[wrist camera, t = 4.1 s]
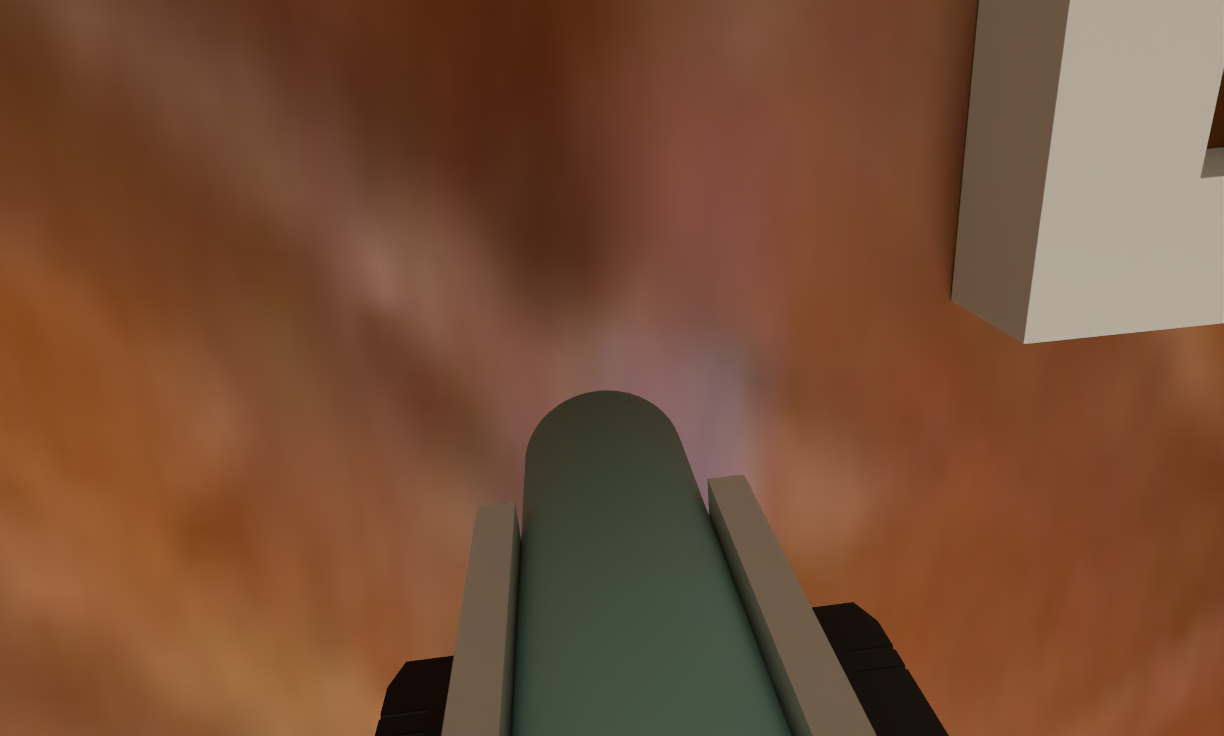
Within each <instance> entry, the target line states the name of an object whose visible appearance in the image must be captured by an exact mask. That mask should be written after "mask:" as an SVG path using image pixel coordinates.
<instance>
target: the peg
mask: <svg viewBox="0 0 1224 736" xmlns="http://www.w3.org/2000/svg"><path fill="white" fill-rule="evenodd" d="M511 736H792V734H791V731H790V728H789V726H788V723H787V720H786V718H785V715H784V713H783V710H782V707H781V705H780V702H779V699H778V697H777V694H776V691H775V689H774V686H773V683H772V681H771V678H770V676H769V673H768V670H767V668H766V665H765V662H764V660H763V657H762V654H761V652H760V649H759V647H758V644H757V641H756V639H755V636H754V633H753V631H752V628H751V625H750V623H749V620H748V617H747V615H746V612H745V610H744V607H743V604H742V602H741V599H740V596H739V594H738V591H737V588H736V586H735V583H734V581H733V578H732V575H731V573H730V570H729V567H728V565H727V562H726V559H725V557H724V554H723V551H722V549H721V546H720V544H719V541H718V538H717V536H716V533H715V530H714V528H713V525H712V522H711V520H710V517H709V514H708V512H707V509H706V507H705V504H704V501H703V499H702V496H701V493H700V491H699V488H698V485H697V483H696V480H695V478H694V475H693V472H692V470H691V467H690V464H689V462H688V459H687V456H686V454H685V451H684V448H683V446H682V443H681V441H680V438H679V435H678V433H677V431H676V429H675V427H674V425H673V424H672V422H671V421H670V419H669V418H668V417H667V416H666V415H665V414H664V413H663V412H662V411H661V410H660V409H659V408H658V407H656V406H655V405H653V404H652V403H650V402H649V401H647V400H645V399H643V398H641V397H639V396H636V395H633V394H630V393H625V392H620V391H595V392H589V393H585V394H581V395H578V396H575V397H573V398H571V399H568V400H566V401H565V402H563V403H561V404H560V405H558V406H557V407H555V408H554V409H553V410H551V411H550V412H549V413H548V414H547V415H546V416H545V417H544V418H543V419H542V420H541V422H540V423H539V424H538V426H537V427H536V429H535V430H534V432H533V434H532V436H531V438H530V441H529V444H528V447H527V452H526V460H525V477H524V496H523V515H522V534H521V556H520V575H519V594H518V614H517V633H516V652H515V671H514V691H513V710H512V729H511Z"/></svg>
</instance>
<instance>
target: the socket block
mask: <svg viewBox="0 0 1224 736" xmlns="http://www.w3.org/2000/svg"><path fill="white" fill-rule="evenodd" d="M1223 69H1224V0H979V5H978V16H977V27H976V38H975V48H974V59H973V70H972V81H971V91H970V102H969V113H968V124H967V134H966V145H965V156H964V167H963V177H962V188H961V199H960V210H959V220H958V231H957V242H956V253H955V263H954V274H953V285H952V296H951V301H952V302H954V303H956V304H957V305H959V306H961V307H962V308H964V309H966V310H967V311H969V312H971V313H972V314H974V315H976V316H978V317H979V318H981V319H983V320H984V321H986V322H988V323H989V324H991V325H993V326H994V327H996V328H998V329H999V330H1001V331H1003V332H1004V333H1006V334H1008V335H1009V336H1011V337H1013V338H1014V339H1016V340H1018V341H1019V342H1021V343H1023V344H1028V343H1037V342H1047V341H1057V340H1066V339H1076V338H1085V337H1095V336H1104V335H1114V334H1124V333H1133V332H1143V331H1152V330H1162V329H1171V328H1181V327H1190V326H1200V325H1210V324H1219V323H1224V147H1221V148H1211V149H1207V144H1208V140H1209V135H1210V130H1211V125H1212V121H1213V116H1214V111H1215V107H1216V102H1217V97H1218V93H1219V88H1220V83H1221V78H1222V74H1223Z"/></svg>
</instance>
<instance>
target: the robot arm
mask: <svg viewBox="0 0 1224 736" xmlns="http://www.w3.org/2000/svg"><path fill="white" fill-rule="evenodd" d="M708 499H709V517H710V520H711V522H712V525H713V528H714V530H715V533H716V536H717V538H718V541H719V544H720V546H721V549H722V551H723V554H724V557H725V559H726V562H727V565H728V567H729V570H730V573H731V575H732V578H733V581H734V583H735V586H736V588H737V591H738V594H739V596H740V599H741V602H742V604H743V607H744V610H745V612H746V615H747V617H748V620H749V623H750V625H751V628H752V631H753V633H754V636H755V639H756V641H757V644H758V647H759V649H760V652H761V654H762V657H763V660H764V662H765V665H766V668H767V670H768V673H769V676H770V678H771V681H772V683H773V686H774V689H775V691H776V694H777V697H778V699H779V702H780V705H781V707H782V710H783V713H784V715H785V718H786V720H787V723H788V726H789V728H790V731H791V734H792V736H949V735H948V734H947V732H946V731H945V729H944V727H943V726H942V724H941V722H940V721H939V719H938V718H937V716H936V714H935V713H934V711H933V709H932V708H931V706H930V705H929V703H928V701H927V700H926V698H925V697H924V695H923V693H922V692H921V690H920V688H919V687H918V685H917V684H916V682H915V680H914V679H913V677H912V676H911V674H910V672H909V671H908V670H906V669H905V664H904V663H903V661H902V659H901V658H900V656H899V655H898V653H897V651H896V650H894V649H893V645H892V643H891V642H890V640H889V638H888V637H887V635H886V633H885V632H884V630H883V629H882V627H881V625H880V624H879V622H878V621H877V620H876V619H874V618H873V617H872V616H870V615H869V614H868V613H867V612H865V611H864V610H863V609H861V608H860V607H859V606H858V605H856V604H855V603H854V602H851V603H844V604H836V605H828V606H820V607H813V608H811V606H810V604H809V602H808V600H807V598H806V596H805V594H804V592H803V590H802V588H801V586H800V584H799V582H798V580H797V578H796V576H795V574H794V572H793V570H792V568H791V566H790V564H789V562H788V560H787V558H786V556H785V554H784V552H783V550H782V548H781V547H780V545H779V543H778V541H777V539H776V537H775V535H774V533H773V531H772V529H771V527H770V525H769V523H768V521H767V519H766V517H765V515H764V513H763V511H762V509H761V507H760V505H759V503H758V501H757V499H756V497H755V495H754V493H753V491H752V489H751V487H750V485H749V484H748V482H747V480H746V478H745V476H744V475H737V476H729V477H720V478H712V479H708ZM520 556H521V536H520V530H519V524H518V517H517V511H516V504H515V502H511V503H503V504H495V505H486V506H478V507H477V514H476V520H475V526H474V533H473V539H472V545H471V551H470V558H469V564H468V570H467V577H466V583H465V589H464V596H463V602H462V608H461V615H460V621H459V627H458V633H457V640H456V646H455V652H454V656H448V657H440V658H432V659H424V660H417V661H409V662H406V663H405V664H404V666H403V667H402V668H401V670H400V671H399V672H398V674H397V675H396V676H395V678H394V679H393V681H392V682H391V683H390V685H389V686H388V688H387V691H386V695H385V699H384V703H383V707H382V711H381V714H380V715H381V719H380V720H379V722H378V726H377V730H376V734H375V736H511V729H512V710H513V691H514V671H515V652H516V633H517V614H518V594H519V575H520Z"/></svg>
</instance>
